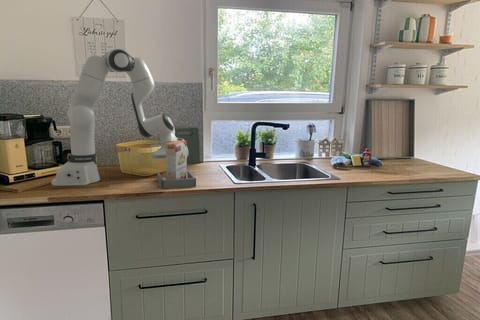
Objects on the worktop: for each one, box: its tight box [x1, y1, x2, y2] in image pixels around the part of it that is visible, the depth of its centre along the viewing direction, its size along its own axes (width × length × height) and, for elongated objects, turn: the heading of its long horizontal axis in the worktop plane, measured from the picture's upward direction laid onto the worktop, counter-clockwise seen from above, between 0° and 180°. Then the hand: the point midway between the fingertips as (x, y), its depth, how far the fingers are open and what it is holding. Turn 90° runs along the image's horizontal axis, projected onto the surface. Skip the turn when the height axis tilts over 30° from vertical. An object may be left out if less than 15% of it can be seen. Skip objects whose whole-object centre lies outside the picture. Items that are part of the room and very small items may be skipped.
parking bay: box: [156, 170, 197, 190], centre depth 176 cm, size 17×17×4 cm
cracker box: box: [165, 140, 188, 180], centre depth 177 cm, size 14×6×21 cm, turn 166°
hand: (171, 163), depth 188 cm, fingers closed
